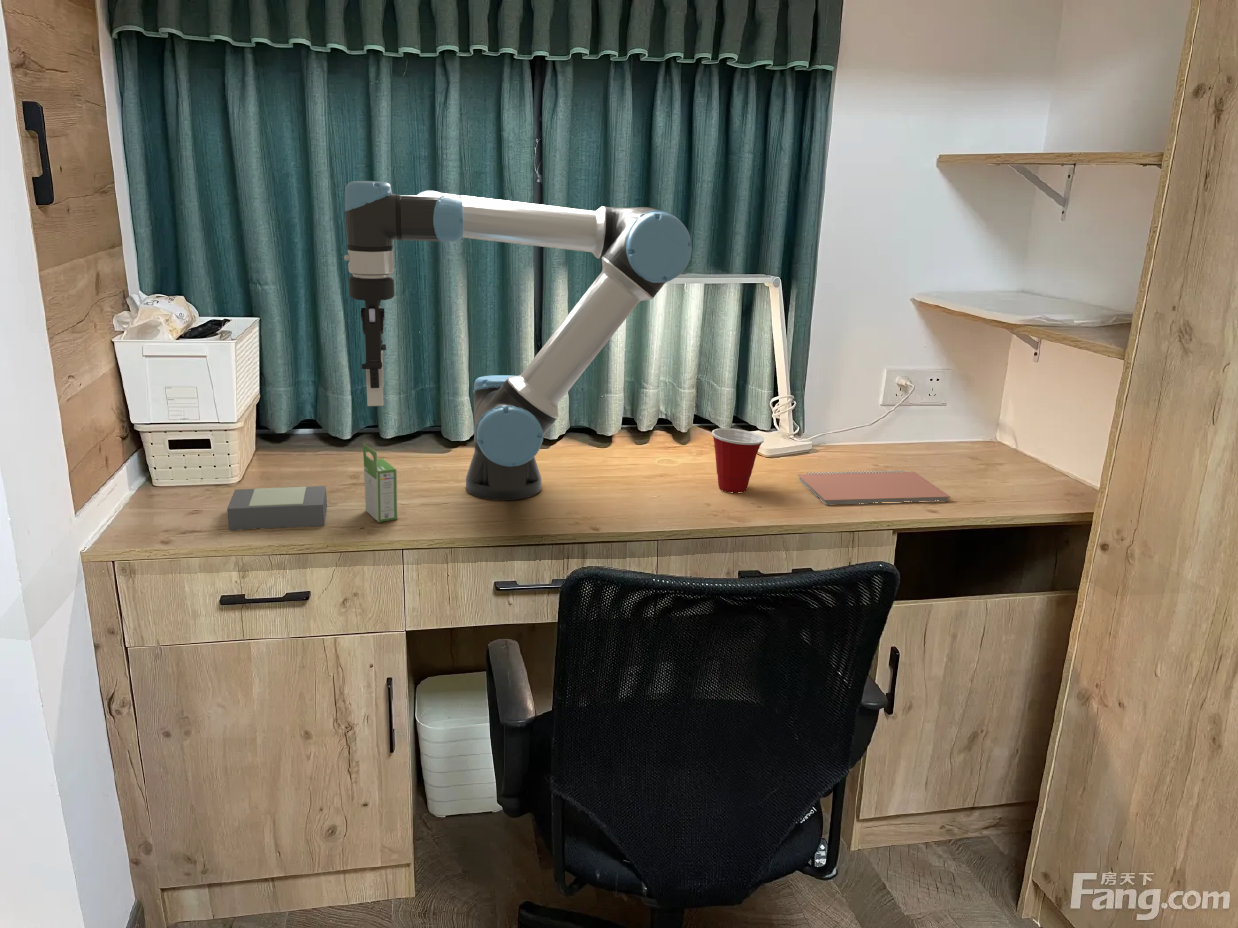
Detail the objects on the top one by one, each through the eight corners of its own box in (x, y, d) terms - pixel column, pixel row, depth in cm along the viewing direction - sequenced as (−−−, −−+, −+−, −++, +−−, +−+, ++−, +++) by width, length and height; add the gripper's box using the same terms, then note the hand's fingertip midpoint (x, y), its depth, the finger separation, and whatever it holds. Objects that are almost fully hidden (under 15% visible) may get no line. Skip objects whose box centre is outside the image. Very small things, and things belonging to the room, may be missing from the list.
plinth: (327, 505, 183) (325, 484, 182) (324, 525, 174) (323, 503, 172) (236, 509, 179) (234, 488, 178) (229, 530, 170) (227, 507, 169)
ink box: (398, 519, 178) (396, 449, 174) (377, 523, 176) (374, 452, 172) (385, 507, 183) (382, 439, 179) (364, 510, 181) (361, 442, 177)
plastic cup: (769, 495, 199) (775, 438, 195) (723, 500, 195) (727, 443, 191) (743, 478, 208) (748, 424, 204) (698, 483, 204) (702, 428, 200)
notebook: (911, 477, 215) (912, 469, 214) (949, 504, 199) (950, 495, 199) (794, 480, 210) (795, 471, 209) (824, 508, 194) (825, 498, 194)
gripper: (351, 265, 177) (356, 379, 183) (345, 285, 154) (351, 414, 160) (393, 266, 178) (397, 379, 185) (394, 285, 155) (398, 413, 162)
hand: (376, 395), depth 173 cm, fingers open, 13 cm apart
